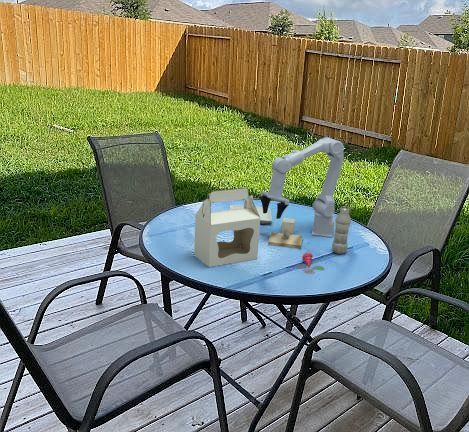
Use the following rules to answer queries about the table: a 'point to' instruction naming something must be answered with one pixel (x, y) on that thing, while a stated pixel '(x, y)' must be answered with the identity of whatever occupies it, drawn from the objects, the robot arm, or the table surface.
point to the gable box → (235, 219)
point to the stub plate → (285, 240)
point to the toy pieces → (308, 263)
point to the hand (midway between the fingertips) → (271, 215)
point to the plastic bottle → (341, 231)
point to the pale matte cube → (288, 225)
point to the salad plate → (263, 217)
